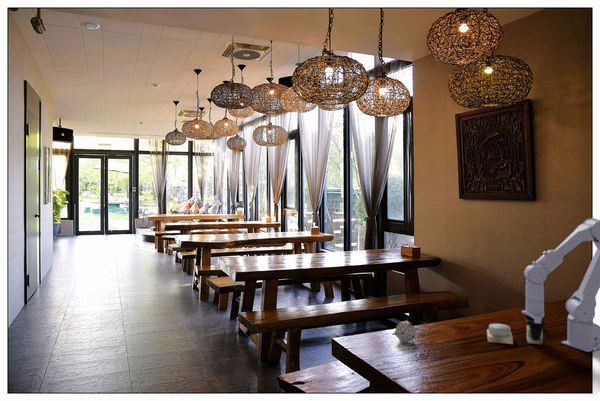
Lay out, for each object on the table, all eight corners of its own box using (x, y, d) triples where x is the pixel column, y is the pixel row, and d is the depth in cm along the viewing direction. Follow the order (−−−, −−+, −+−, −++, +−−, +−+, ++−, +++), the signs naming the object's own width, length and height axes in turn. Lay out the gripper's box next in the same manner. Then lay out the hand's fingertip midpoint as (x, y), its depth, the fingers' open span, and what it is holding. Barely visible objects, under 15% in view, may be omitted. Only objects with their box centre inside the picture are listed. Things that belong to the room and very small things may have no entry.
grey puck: (509, 331, 164) (509, 324, 163) (511, 338, 157) (511, 331, 157) (488, 329, 166) (488, 322, 166) (489, 335, 159) (489, 329, 159)
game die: (401, 353, 159) (384, 332, 158) (406, 338, 166) (390, 317, 165) (421, 346, 154) (404, 324, 153) (426, 330, 160) (409, 309, 160)
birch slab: (510, 338, 164) (510, 331, 164) (513, 345, 156) (513, 338, 156) (486, 335, 166) (486, 329, 166) (488, 343, 159) (488, 336, 159)
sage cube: (540, 340, 159) (540, 326, 159) (542, 344, 155) (542, 330, 154) (526, 338, 160) (526, 325, 160) (528, 343, 156) (528, 329, 156)
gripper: (519, 293, 165) (519, 329, 166) (524, 304, 151) (524, 343, 152) (540, 295, 163) (540, 331, 163) (548, 305, 149) (548, 345, 150)
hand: (534, 337), depth 157 cm, fingers closed on sage cube, 4 cm apart
